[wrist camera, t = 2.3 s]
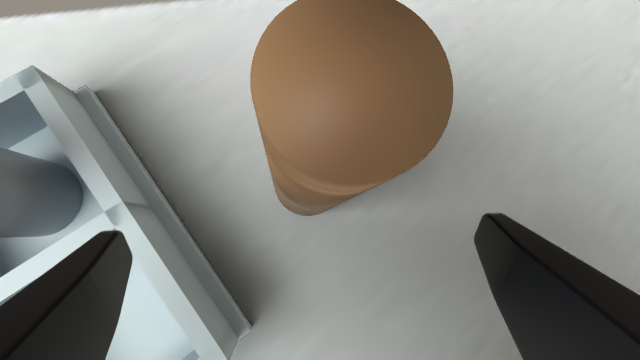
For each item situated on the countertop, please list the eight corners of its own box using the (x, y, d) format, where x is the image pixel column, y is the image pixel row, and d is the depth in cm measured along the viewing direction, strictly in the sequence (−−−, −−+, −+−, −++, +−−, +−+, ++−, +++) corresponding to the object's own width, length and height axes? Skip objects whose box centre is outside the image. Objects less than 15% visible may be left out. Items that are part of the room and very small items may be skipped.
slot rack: (251, 327, 17) (242, 353, 14) (88, 449, 16) (28, 516, 12) (93, 91, 18) (44, 56, 15) (-75, 186, 17) (-178, 174, 13)
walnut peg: (344, 157, 19) (462, 11, 6) (334, 220, 19) (441, 200, 6) (281, 145, 19) (272, -32, 6) (268, 209, 18) (230, 162, 6)
